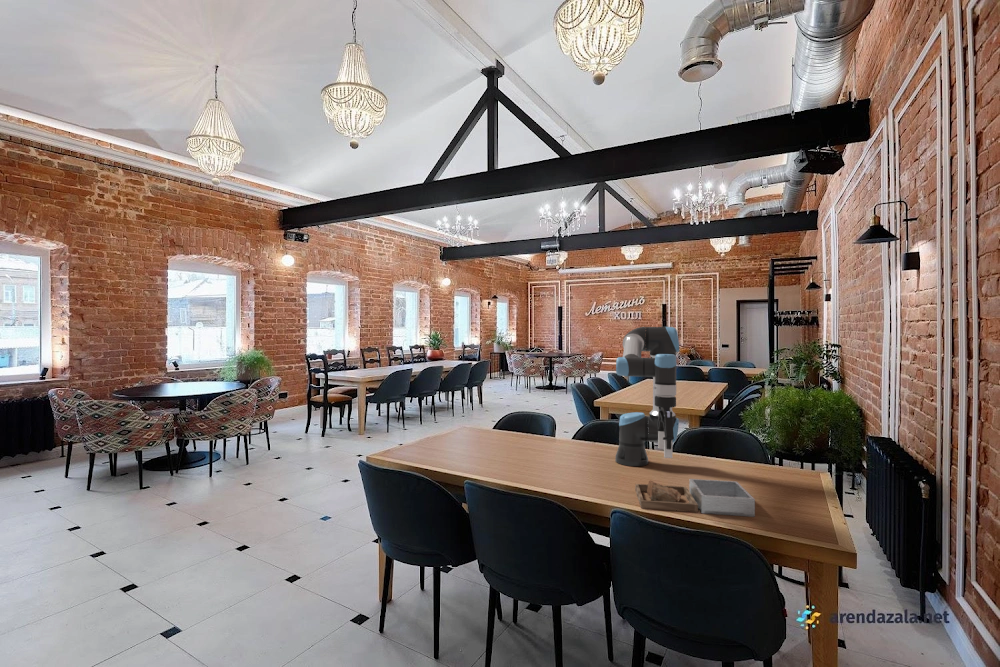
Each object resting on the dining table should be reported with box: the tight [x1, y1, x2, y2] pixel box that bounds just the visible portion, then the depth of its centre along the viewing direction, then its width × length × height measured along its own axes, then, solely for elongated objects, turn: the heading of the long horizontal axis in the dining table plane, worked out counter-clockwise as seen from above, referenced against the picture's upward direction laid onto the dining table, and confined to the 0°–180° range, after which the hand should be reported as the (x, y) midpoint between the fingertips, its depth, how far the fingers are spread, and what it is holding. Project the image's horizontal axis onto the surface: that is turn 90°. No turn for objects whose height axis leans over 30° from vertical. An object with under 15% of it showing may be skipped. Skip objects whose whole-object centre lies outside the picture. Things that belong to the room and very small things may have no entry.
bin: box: [688, 478, 756, 518], centre depth 170 cm, size 19×17×6 cm
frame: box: [635, 483, 699, 513], centre depth 174 cm, size 19×19×2 cm
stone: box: [646, 480, 682, 503], centre depth 174 cm, size 10×11×10 cm
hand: (664, 453), depth 174 cm, fingers open, 13 cm apart
